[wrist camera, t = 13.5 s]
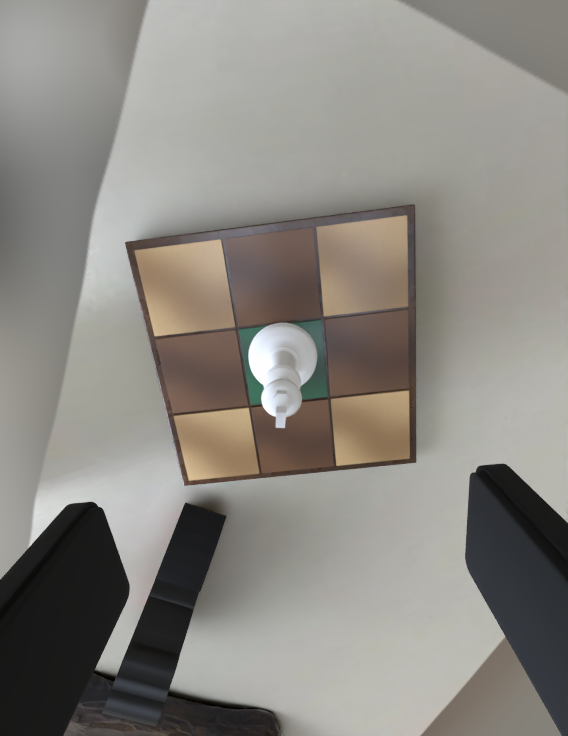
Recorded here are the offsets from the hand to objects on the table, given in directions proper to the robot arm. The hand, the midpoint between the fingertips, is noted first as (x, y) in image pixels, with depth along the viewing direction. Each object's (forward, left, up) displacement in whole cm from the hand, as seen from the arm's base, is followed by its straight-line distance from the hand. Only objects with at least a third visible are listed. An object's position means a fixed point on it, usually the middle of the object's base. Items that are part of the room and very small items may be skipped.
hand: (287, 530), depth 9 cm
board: (+1, 0, -18) cm, 18 cm away
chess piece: (0, 0, -17) cm, 17 cm away
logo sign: (+20, -12, -18) cm, 29 cm away
